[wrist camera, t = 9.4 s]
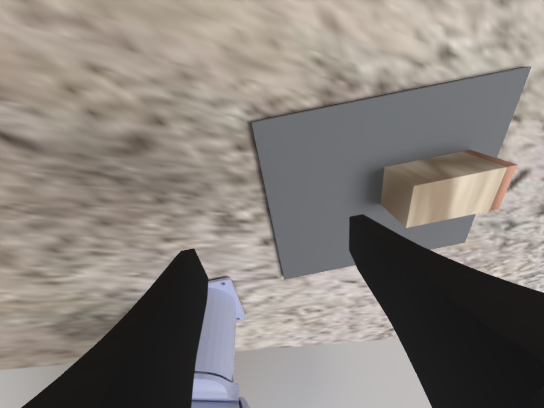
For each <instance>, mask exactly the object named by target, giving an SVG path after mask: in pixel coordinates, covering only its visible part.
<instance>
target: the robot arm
mask: <svg viewBox="0 0 544 408" xmlns="http://www.w3.org/2000/svg"><path fill="white" fill-rule="evenodd" d="M349 251H350V254H351V256H352V258H353V260H354V262H355V264H356V267H357V269H358V270H359V272H360V274H361V275H362V277H363V279H364V280H365V282H366V283H367V285H368V287H369V288H370V290H371V291H372V293H373V295H374V296H375V298H376V299H377V301H378V302H379V304H380V306H381V307H382V309H383V310H384V312H385V314H386V315H387V317H388V319H389V320H390V322H391V324H392V326H393V328H394V330H395V332H396V333H397V335H398V337H399V339H400V341H401V343H402V345H403V347H404V349H405V351H406V353H407V355H408V357H409V359H410V362H411V363H412V365H413V368H414V370H415V372H416V374H417V376H418V378H419V380H420V382H421V384H422V387H423V389H424V391H425V393H426V395H427V397H428V400H429V402H430V404H431V406H432V408H544V293H543V292H539V291H536V290H533V289H530V288H527V287H524V286H521V285H517V284H514V283H511V282H509V281H506V280H503V279H500V278H497V277H494V276H492V275H489V274H486V273H483V272H481V271H478V270H475V269H473V268H470V267H468V266H465V265H463V264H460V263H458V262H456V261H453V260H451V259H448V258H446V257H444V256H442V255H439V254H437V253H435V252H433V251H431V250H429V249H427V248H425V247H423V246H420V245H418V244H416V243H415V242H413V241H411V240H409V239H407V238H405V237H403V236H401V235H399V234H397V233H396V232H394V231H392V230H390V229H388V228H387V227H385V226H383V225H381V224H380V223H378V222H376V221H374V220H373V219H371V218H369V217H367V216H365V215H363V214H361V215H356V216H351V217H349ZM222 282H224V283H222ZM244 319H245V313H244V310H243V308H242V305H241V303H240V300H239V298H238V295H237V292H236V290H235V287H234V285H233V282H232V280H231V279H230V278H228V277H227V278H222V279H217V280H212V281H208V277H207V275H206V273H205V271H204V268H203V266H202V264H201V262H200V260H199V258H198V256H197V254H196V252H195V249H189V250H184V251H181V252H180V253H179V254H178V255H177V256H176V257H175V258H174V260H173V261H172V262H171V263H170V264H169V266H168V267H167V268H166V269H165V271H164V272H163V273H162V274H161V275H160V277H159V278H158V279H157V280H156V281H155V283H154V284H153V285H152V286H151V287H150V288H149V290H148V291H147V292H146V293H145V294H144V295H143V296H142V297H141V299H140V300H139V301H138V302H137V303H136V304H135V305H134V306H133V307H132V309H131V310H130V311H129V312H128V313H127V314H126V315H125V316H124V317H123V318H122V319H121V320H120V321H119V322H118V323H117V324H116V325H115V326H114V327H113V328H112V329H111V330H110V331H109V332H108V333H107V334H106V335H105V336H104V337H103V338H102V339H101V340H100V341H99V342H98V343H97V344H96V345H95V346H94V347H92V348H91V349H90V350H89V351H88V352H87V353H86V354H85V355H83V356H82V357H81V358H80V359H79V360H78V361H77V362H76V363H74V364H73V365H72V366H71V367H70V368H69V369H68V370H67V371H65V372H64V373H63V374H62V375H61V376H60V377H58V378H57V379H56V380H55V381H54V382H53V383H51V384H50V385H49V386H48V387H46V388H45V389H44V390H43V391H42V392H40V393H39V394H38V395H37V396H36V397H34V398H33V399H32V400H30V401H29V402H28V403H27V404H25V405H24V406H23V407H22V408H250V407H249V406H248V403H247V401H246V399H245V398H243V397H239V384H238V383H234V357H235V355H234V354H235V331H236V321H240V320H244Z"/></svg>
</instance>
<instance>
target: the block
mask: <svg viewBox="0 0 544 408" xmlns="http://www.w3.org/2000/svg"><path fill="white" fill-rule="evenodd" d="M516 168H517V165H516V164H513V163H510V162H507V161H504V160H501V159H497V158H494V157H491V156H488V155H485V154H482V153H479V152H475V151H472V150H467V151H462V152H457V153H452V154H447V155H442V156H437V157H432V158H427V159H422V160H418V161H413V162H408V163H403V164H398V165H393V166H388V167H384V176H383V186H382V196H381V205H382V206H383V207H384V208H385V209H386V210H387V211H388V212H389V213H390V214H392V215H393V216H394V217H395V218H396V219H397V220H398V221H399V222H400V223H401V224H402V225H403V226H404V227H405V228H409V227H414V226H418V225H423V224H428V223H433V222H438V221H443V220H448V219H453V218H458V217H462V216H467V215H472V214H477V213H482V212H487V211H492V210H497V209H499V206H500V204H501V202H502V200H503V197H504V195H505V193H506V190H507V188H508V186H509V184H510V181H511V179H512V177H513V174H514V172H515V170H516Z"/></svg>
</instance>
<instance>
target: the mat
mask: <svg viewBox="0 0 544 408" xmlns="http://www.w3.org/2000/svg"><path fill="white" fill-rule="evenodd" d="M530 69H531V67H521V68H516V69H511V70H506V71H501V72H496V73H491V74H486V75H481V76H476V77H471V78H466V79H461V80H456V81H451V82H446V83H441V84H436V85H431V86H426V87H421V88H416V89H411V90H406V91H401V92H396V93H391V94H386V95H381V96H376V97H371V98H366V99H361V100H356V101H351V102H346V103H341V104H336V105H331V106H326V107H321V108H316V109H311V110H306V111H301V112H296V113H291V114H286V115H281V116H276V117H271V118H266V119H261V120H256V121H251V123H252V128H253V132H254V137H255V142H256V147H257V151H258V156H259V161H260V166H261V171H262V175H263V180H264V185H265V190H266V195H267V199H268V204H269V209H270V214H271V219H272V223H273V228H274V233H275V238H276V242H277V247H278V252H279V257H280V262H281V266H282V271H283V276H284V280H285V279H289V278H294V277H299V276H304V275H309V274H314V273H319V272H324V271H328V270H333V269H338V268H343V267H348V266H353V265H356V264H355V262H354V260H353V258H352V256H351V254H350V251H349V217H351V216H356V215H361V214H363V215H365V216H367V217H369V218H371V219H373V220H374V221H376V222H378V223H380V224H381V225H383V226H385V227H387V228H388V229H390V230H392V231H394V232H396V233H397V234H399V235H401V236H403V237H405V238H407V239H409V240H411V241H413V242H415V243H416V244H418V245H420V246H423V247H425V248H427V249H429V250H431V249H435V248H440V247H445V246H450V245H455V244H460V243H465V241H466V238H467V235H468V233H469V230H470V227H471V225H472V222H473V220H474V217H475V214H472V215H467V216H462V217H458V218H453V219H448V220H443V221H438V222H433V223H428V224H423V225H418V226H414V227H409V228H405V227H404V226H403V225H402V224H401V223H400V222H399V221H398V220H397V219H396V218H395V217H394V216H393V215H392V214H390V213H389V212H388V211H387V210H386V209H385V208H384V207H383V206H382V205H381V196H382V186H383V176H384V167H388V166H393V165H398V164H403V163H408V162H413V161H418V160H422V159H427V158H432V157H437V156H442V155H447V154H452V153H457V152H462V151H467V150H472V151H475V152H479V153H482V154H485V155H488V156H491V157H494V158H497V156H498V154H499V151H500V148H501V146H502V143H503V140H504V138H505V135H506V132H507V130H508V127H509V124H510V122H511V119H512V117H513V114H514V111H515V109H516V106H517V103H518V101H519V98H520V95H521V93H522V90H523V87H524V85H525V82H526V80H527V77H528V74H529V72H530Z"/></svg>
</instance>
